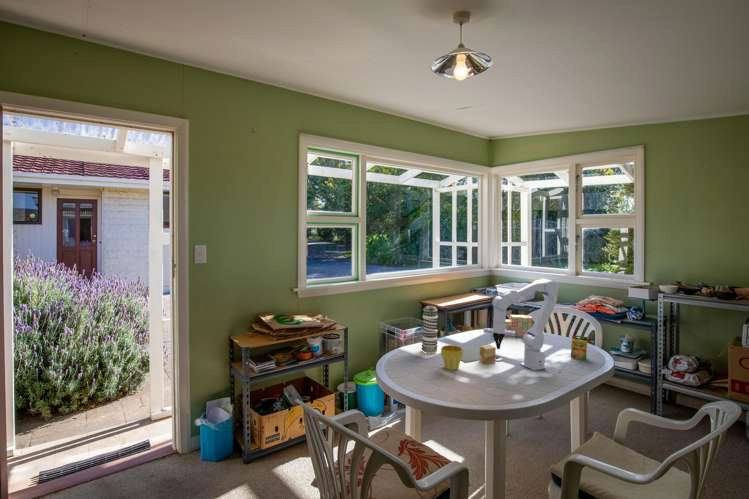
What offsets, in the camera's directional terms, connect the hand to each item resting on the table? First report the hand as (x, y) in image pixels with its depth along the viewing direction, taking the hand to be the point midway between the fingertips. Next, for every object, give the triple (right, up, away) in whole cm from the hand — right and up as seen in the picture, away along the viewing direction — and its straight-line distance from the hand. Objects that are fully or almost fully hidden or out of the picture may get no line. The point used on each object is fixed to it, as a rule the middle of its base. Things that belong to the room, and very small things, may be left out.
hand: (498, 348), depth 206 cm
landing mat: (-8, -8, +19) cm, 23 cm away
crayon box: (+47, -9, +15) cm, 50 cm away
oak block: (-3, -9, +8) cm, 12 cm away
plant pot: (-23, -10, 0) cm, 25 cm away
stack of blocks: (+26, -5, +56) cm, 62 cm away
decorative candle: (-31, -7, +23) cm, 39 cm away
